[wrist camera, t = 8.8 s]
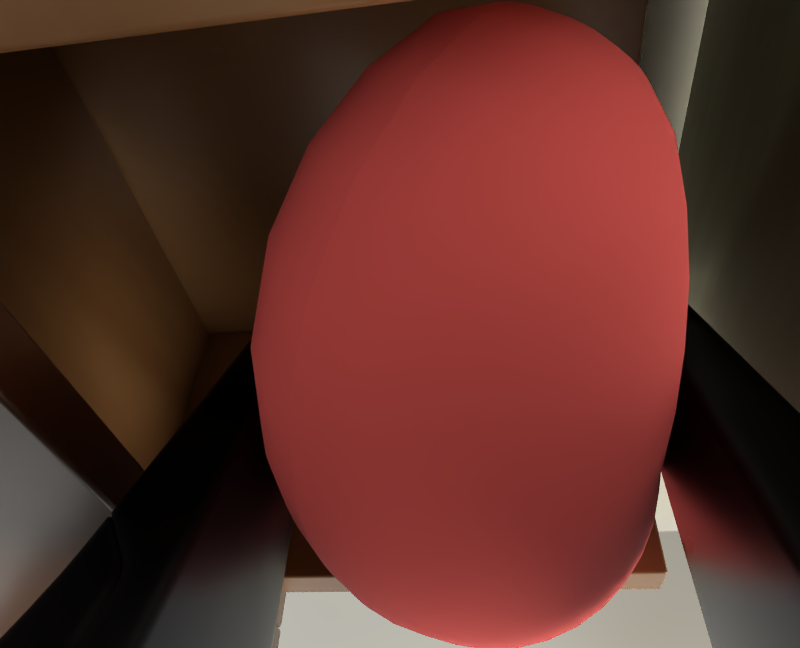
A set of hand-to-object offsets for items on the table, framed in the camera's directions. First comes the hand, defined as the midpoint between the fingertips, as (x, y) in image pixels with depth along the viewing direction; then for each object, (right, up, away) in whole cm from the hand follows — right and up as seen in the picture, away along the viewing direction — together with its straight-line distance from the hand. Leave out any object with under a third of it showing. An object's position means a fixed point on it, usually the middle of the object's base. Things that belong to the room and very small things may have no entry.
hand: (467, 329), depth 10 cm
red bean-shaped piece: (0, +1, +1) cm, 1 cm away
